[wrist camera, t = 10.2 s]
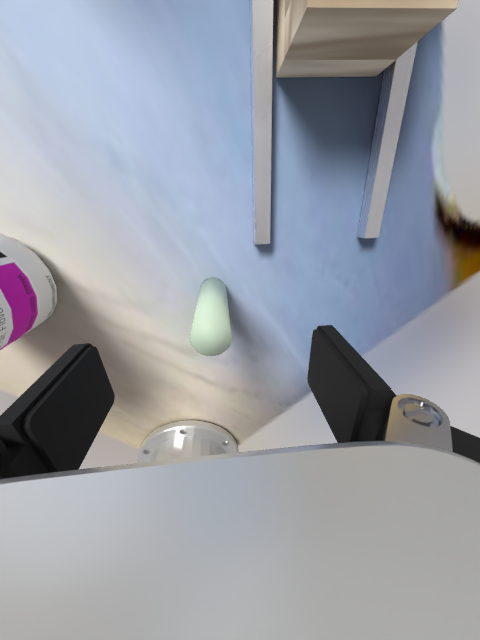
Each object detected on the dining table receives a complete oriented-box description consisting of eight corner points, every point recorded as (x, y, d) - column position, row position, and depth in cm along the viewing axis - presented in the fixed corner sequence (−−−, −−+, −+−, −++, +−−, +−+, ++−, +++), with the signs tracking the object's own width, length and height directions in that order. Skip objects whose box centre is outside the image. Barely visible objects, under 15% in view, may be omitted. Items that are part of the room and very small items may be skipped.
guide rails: (369, 236, 21) (378, 237, 20) (253, 242, 20) (255, 244, 19) (431, -92, 13) (449, -119, 12) (247, -98, 13) (250, -127, 11)
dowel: (227, 301, 22) (232, 354, 14) (201, 303, 22) (192, 357, 14) (225, 276, 21) (230, 317, 13) (198, 278, 21) (186, 321, 13)
